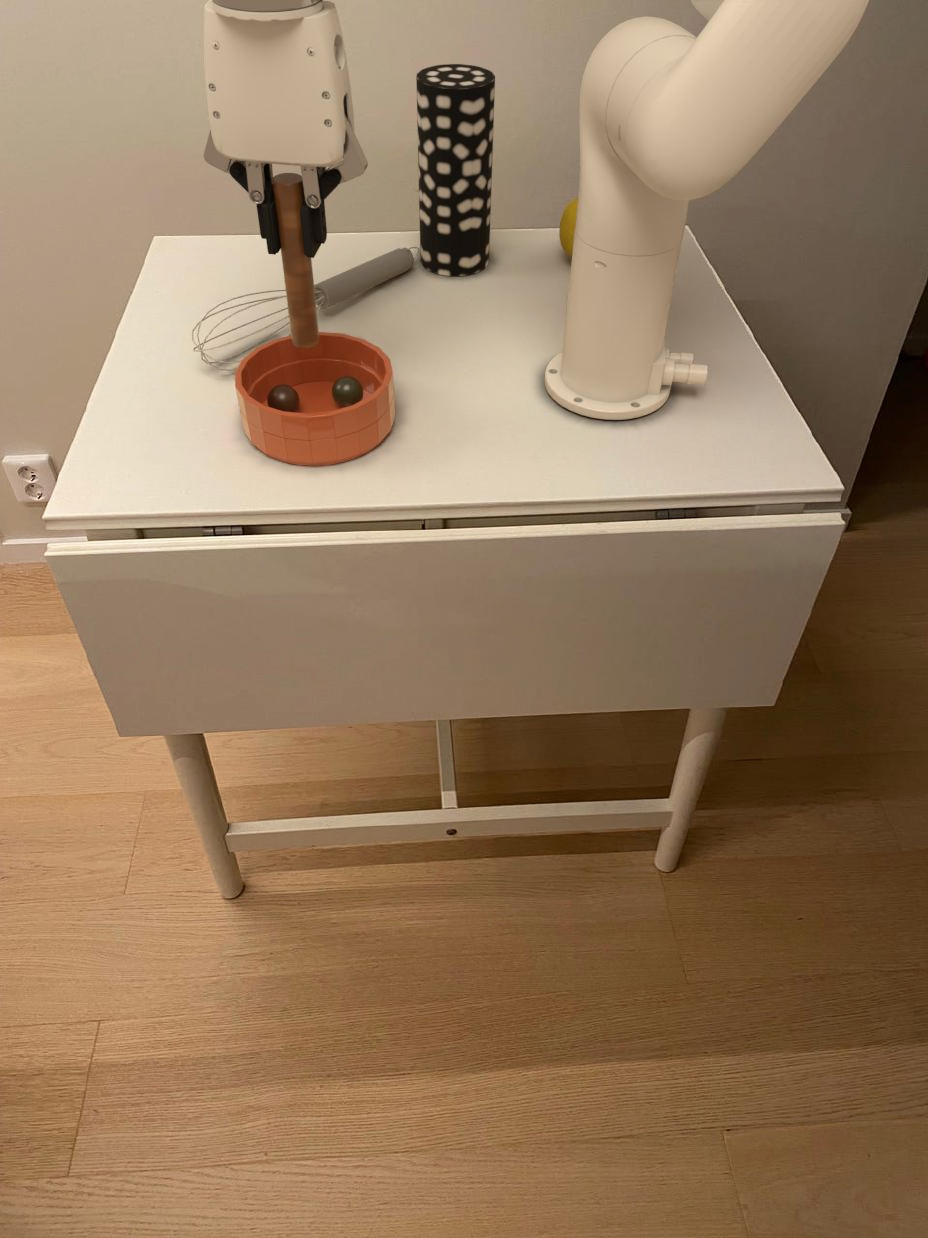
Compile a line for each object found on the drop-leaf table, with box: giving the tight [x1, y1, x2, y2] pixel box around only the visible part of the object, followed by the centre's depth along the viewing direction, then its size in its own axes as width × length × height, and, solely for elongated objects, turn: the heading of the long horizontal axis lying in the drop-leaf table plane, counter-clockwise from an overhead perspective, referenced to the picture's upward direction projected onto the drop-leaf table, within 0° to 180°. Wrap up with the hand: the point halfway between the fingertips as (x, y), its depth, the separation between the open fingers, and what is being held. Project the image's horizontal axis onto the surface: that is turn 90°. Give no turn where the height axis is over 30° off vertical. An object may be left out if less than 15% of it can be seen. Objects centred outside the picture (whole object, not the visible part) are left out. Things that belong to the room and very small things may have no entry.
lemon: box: [558, 197, 578, 258], centre depth 109 cm, size 6×6×8 cm
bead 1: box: [267, 384, 300, 412], centre depth 87 cm, size 3×3×3 cm
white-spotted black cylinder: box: [415, 63, 496, 277], centre depth 104 cm, size 8×8×20 cm
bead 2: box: [332, 376, 363, 408], centre depth 88 cm, size 3×3×3 cm
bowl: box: [234, 331, 396, 467], centre depth 86 cm, size 14×14×6 cm
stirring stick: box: [272, 172, 320, 349], centre depth 76 cm, size 2×2×14 cm
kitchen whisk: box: [191, 246, 420, 372], centre depth 100 cm, size 6×34×6 cm, turn 143°
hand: (295, 246), depth 75 cm, fingers closed on stirring stick, 2 cm apart
